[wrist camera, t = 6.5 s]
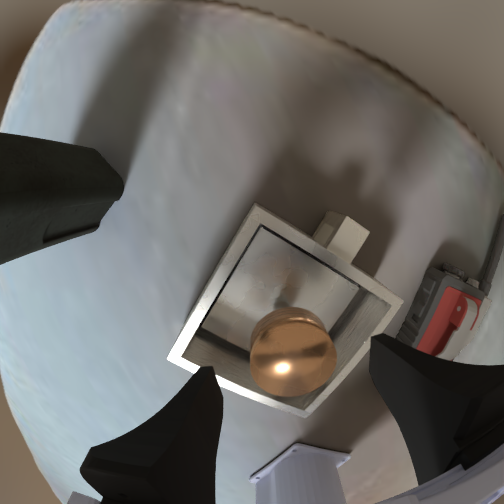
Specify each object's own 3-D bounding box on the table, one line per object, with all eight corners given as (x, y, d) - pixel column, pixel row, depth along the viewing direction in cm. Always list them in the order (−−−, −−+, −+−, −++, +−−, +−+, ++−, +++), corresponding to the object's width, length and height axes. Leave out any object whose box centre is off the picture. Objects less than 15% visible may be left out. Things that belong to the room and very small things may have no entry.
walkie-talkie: (422, 394, 22) (502, 216, 18) (440, 420, 17) (533, 223, 13) (359, 389, 21) (450, 175, 17) (375, 422, 17) (487, 176, 13)
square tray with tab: (297, 379, 20) (306, 418, 16) (183, 324, 19) (167, 358, 15) (388, 254, 18) (422, 272, 14) (271, 175, 17) (278, 169, 12)
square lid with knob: (294, 368, 19) (309, 434, 13) (202, 322, 19) (181, 385, 12) (356, 285, 18) (403, 331, 11) (261, 226, 17) (267, 249, 10)
